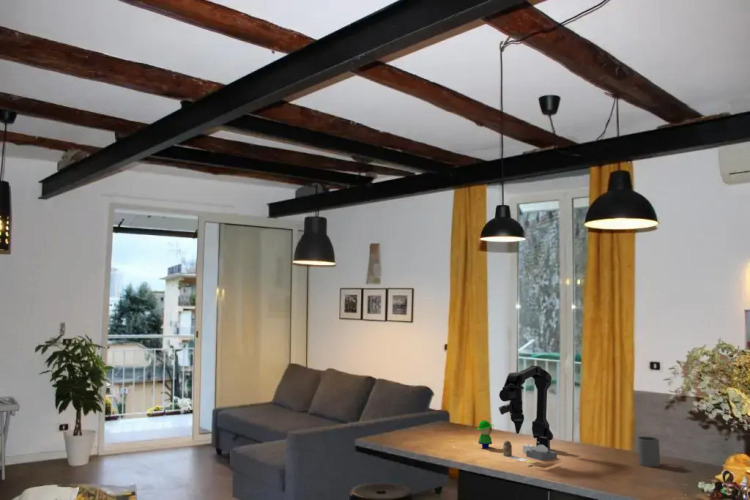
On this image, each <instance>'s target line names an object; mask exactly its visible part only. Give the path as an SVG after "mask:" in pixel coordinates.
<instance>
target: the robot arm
mask: <svg viewBox="0 0 750 500" xmlns="http://www.w3.org/2000/svg"><path fill="white" fill-rule="evenodd" d="M552 377H553V376H551V374H550V373H549V372H548V371H547V370H545V369H543V368H542V367H541V366H539V365H530V366H529V367H527V368H525V369H523V370H521V371H518V372H516V371H515V372H509V373H508V375H507V376H506V380H505V382H504V385H503V386H502V389H501V390H500V391H499V394H498V396H499V399H500V400H501V401H502V402H509V403H508V404H505V405H504V404H503V405H501V406H499V407H498V410H499V413H500V415H504V414H508V413H509V416H510V420H511V421H512V423H513V424H514V429H515V433H516V434H517V435H519V434H520V432H521V429H522V426H523V423H524V421H525V414H524V411H523V410H524V409H523V391H522V390H524V389H525V387H524V386H523V385H524V384H525V382H526V380H528V379H530V378H532V379H533V380H534V385H535V387H536V389H537V390H536V391H537V392H536V393H537V394H536V414H535V415H536V416H535V417H536V418H535V419H534V420H533V421H532V422H531V433H532V437H533V439H536V441H535V443H536V444H535V445H536V446H535V447H537V446H538V445H544V446H545V447H547V448H548V450H549V451H550V449H551V445H550V444H551V441H553V439H554V434H553V433H552V431H551V429H550V423H549V422H548V419H547V410H548V409H547V407H548V405H547V404H548V391H549V389H550V387H551V385H552V380H553V379H552Z"/></svg>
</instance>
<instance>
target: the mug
mask: <svg viewBox="0 0 750 500" xmlns="http://www.w3.org/2000/svg"><path fill="white" fill-rule="evenodd" d="M659 440H660V439H659V438H657V437H653V436H638V437H637V452H638V455H637V456H638V465H640V466H643V467H647V468H658V467H660V465H661V456H660V455H661V454H660V441H659Z"/></svg>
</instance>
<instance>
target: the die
mask: <svg viewBox="0 0 750 500" xmlns="http://www.w3.org/2000/svg"><path fill="white" fill-rule="evenodd" d="M528 450H535V445H533V444H527V443H526V444H523V445H522V453H523V454H525V455H526V451H528Z"/></svg>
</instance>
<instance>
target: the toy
mask: <svg viewBox="0 0 750 500" xmlns="http://www.w3.org/2000/svg"><path fill="white" fill-rule="evenodd" d="M492 427H493V428H492ZM494 428H495V427H494V424H491V423H490V422H489V421H488V420H481V421H480V422H479V424H478V427H477V428H476V430H479V432H480V435H479V438H478V442H477V443H478V444H480V445H481V448H482V449H484V450H488V449H489V448H490V445H492V444H493V441H492V437H491V433H492V432H494Z"/></svg>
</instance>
